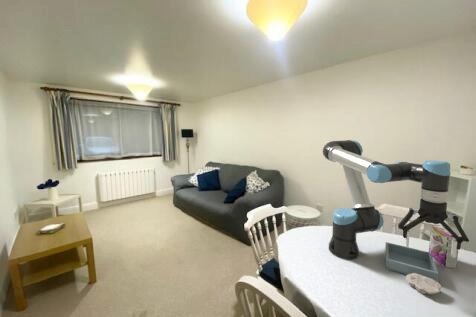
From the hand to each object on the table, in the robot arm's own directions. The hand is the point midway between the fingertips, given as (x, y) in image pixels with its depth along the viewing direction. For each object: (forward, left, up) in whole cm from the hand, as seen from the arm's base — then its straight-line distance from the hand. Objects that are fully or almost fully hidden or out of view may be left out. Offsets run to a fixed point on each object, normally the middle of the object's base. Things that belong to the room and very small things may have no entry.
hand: (428, 250), depth 80 cm
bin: (-4, +16, -18) cm, 24 cm away
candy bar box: (+10, +29, -18) cm, 36 cm away
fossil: (0, 0, -18) cm, 18 cm away
